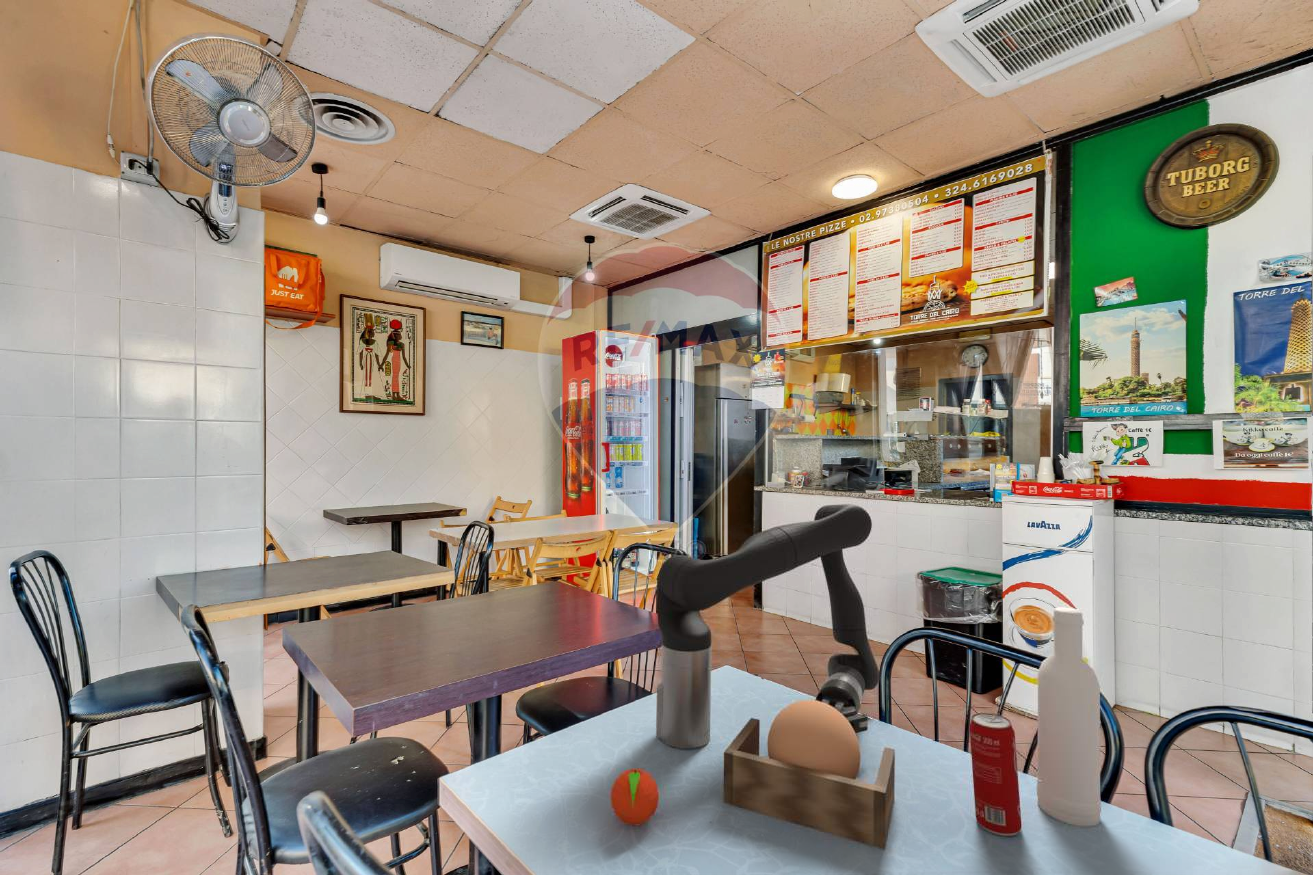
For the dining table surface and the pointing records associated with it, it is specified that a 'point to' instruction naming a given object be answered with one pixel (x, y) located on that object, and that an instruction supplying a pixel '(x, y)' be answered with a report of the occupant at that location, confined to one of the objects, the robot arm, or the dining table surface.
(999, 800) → the beverage can
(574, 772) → the dining table surface
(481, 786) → the dining table surface
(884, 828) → the pocket
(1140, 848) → the dining table surface
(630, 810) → the clementine
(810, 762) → the ball
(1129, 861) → the dining table surface
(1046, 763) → the bottle
